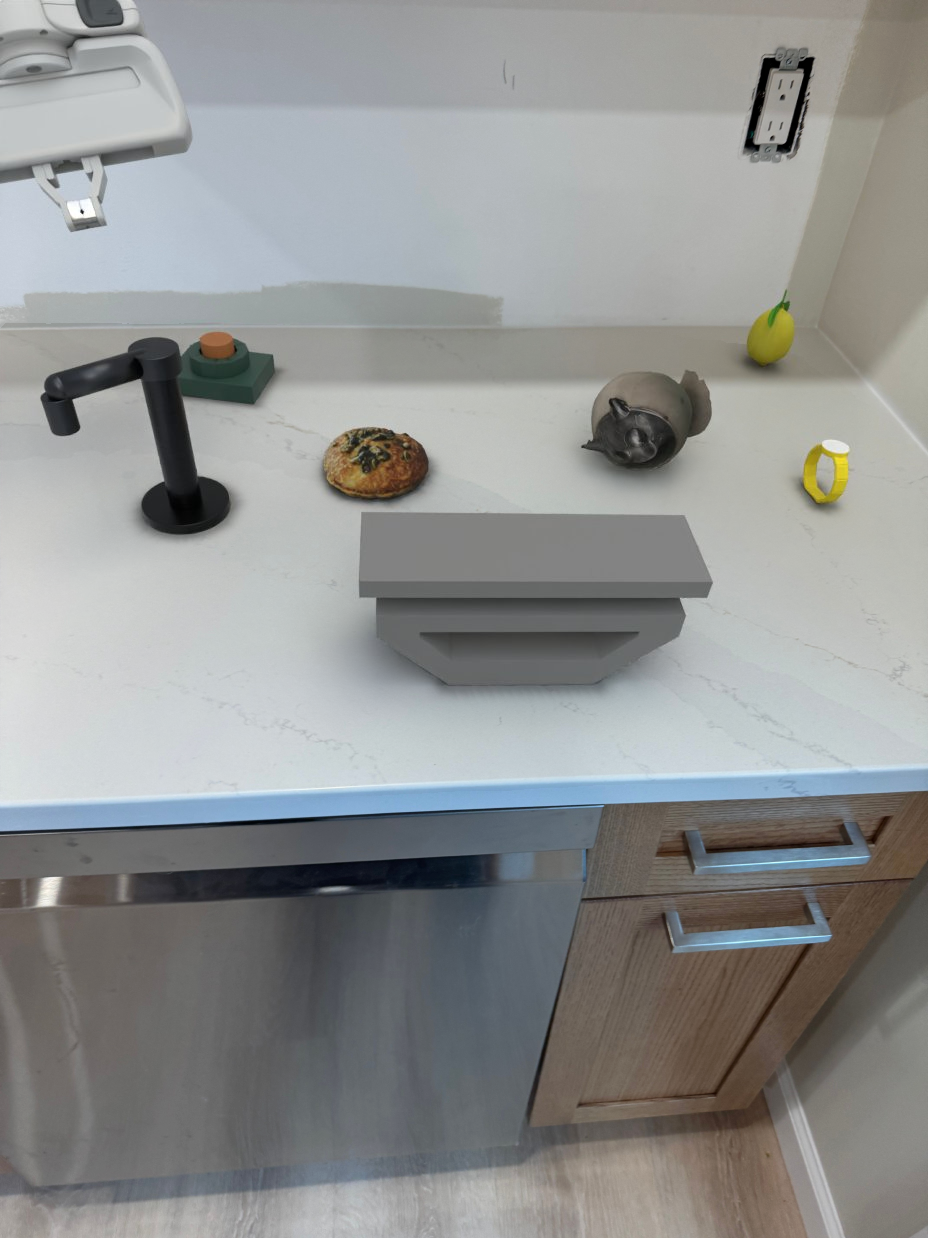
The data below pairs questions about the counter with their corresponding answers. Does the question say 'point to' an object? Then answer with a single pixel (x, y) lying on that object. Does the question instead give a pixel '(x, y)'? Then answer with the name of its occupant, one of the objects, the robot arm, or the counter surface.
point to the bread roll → (375, 463)
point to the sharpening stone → (528, 591)
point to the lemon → (771, 334)
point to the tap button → (217, 345)
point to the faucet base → (189, 516)
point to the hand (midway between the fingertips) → (87, 226)
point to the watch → (839, 455)
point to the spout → (107, 379)
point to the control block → (225, 374)
